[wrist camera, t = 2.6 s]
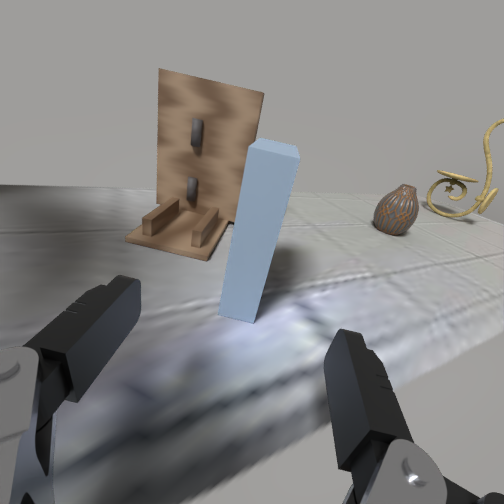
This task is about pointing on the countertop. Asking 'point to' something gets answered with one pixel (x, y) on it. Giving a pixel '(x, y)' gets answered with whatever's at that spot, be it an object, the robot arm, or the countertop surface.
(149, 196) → the countertop surface
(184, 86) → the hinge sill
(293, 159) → the light blue rectangular block
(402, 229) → the vase
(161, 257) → the countertop surface
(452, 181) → the wall sconce
